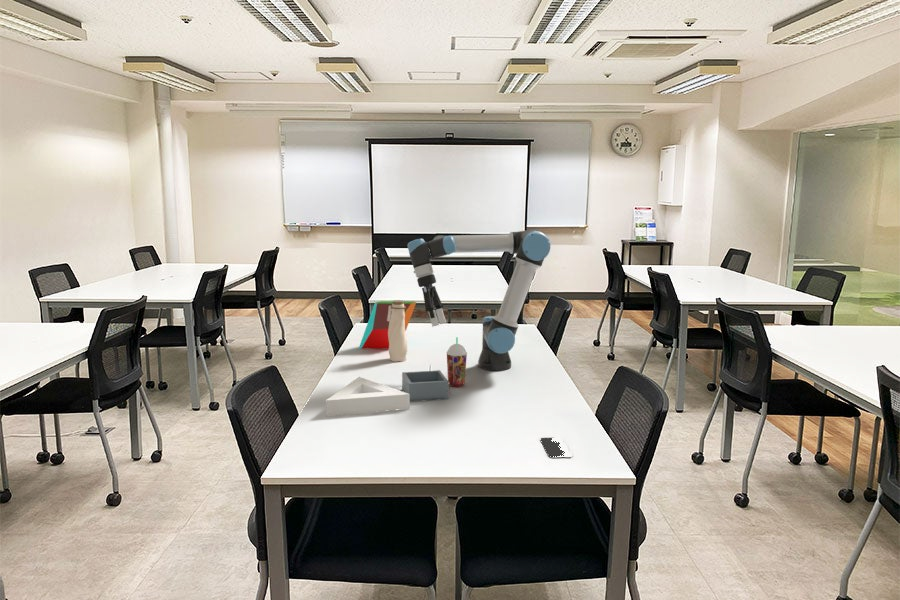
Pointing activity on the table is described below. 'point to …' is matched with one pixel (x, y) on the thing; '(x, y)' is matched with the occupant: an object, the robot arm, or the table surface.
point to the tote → (425, 385)
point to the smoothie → (456, 364)
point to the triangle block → (366, 398)
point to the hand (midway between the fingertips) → (439, 324)
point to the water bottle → (397, 331)
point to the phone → (552, 447)
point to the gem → (382, 324)
